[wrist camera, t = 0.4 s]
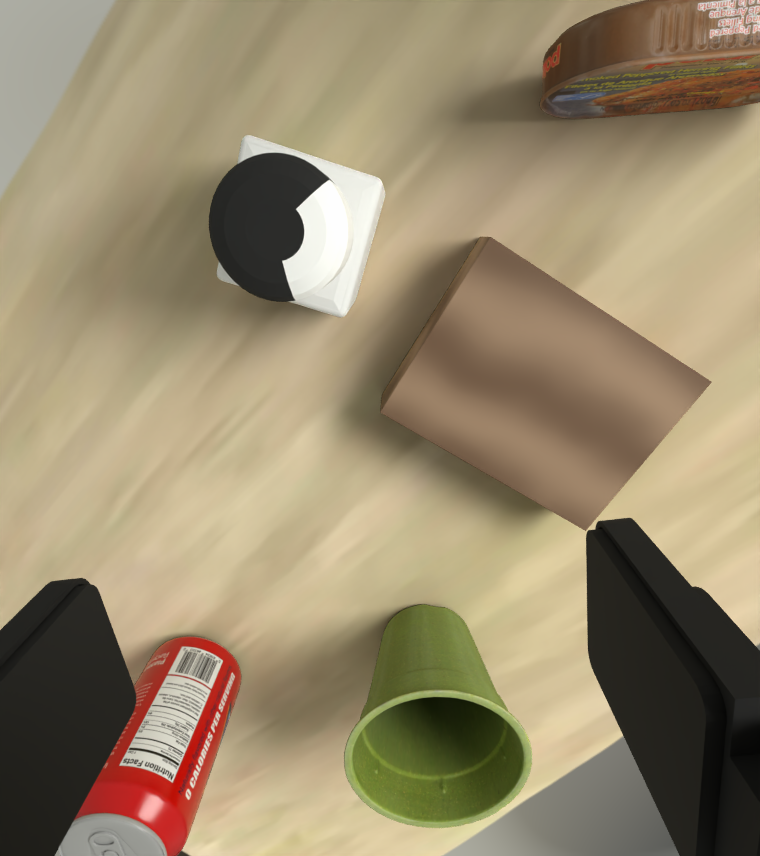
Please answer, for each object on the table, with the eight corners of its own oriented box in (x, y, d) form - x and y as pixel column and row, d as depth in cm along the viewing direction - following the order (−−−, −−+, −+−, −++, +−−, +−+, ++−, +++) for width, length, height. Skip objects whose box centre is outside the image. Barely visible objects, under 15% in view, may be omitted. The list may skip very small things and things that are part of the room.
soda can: (231, 623, 44) (153, 805, 30) (254, 695, 47) (192, 894, 33) (142, 633, 45) (24, 816, 31) (169, 704, 47) (72, 902, 33)
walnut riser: (480, 236, 33) (490, 236, 30) (678, 366, 36) (711, 382, 32) (382, 394, 37) (380, 412, 33) (567, 502, 39) (585, 530, 36)
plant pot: (449, 712, 47) (464, 852, 36) (331, 655, 45) (310, 784, 34) (529, 619, 43) (572, 744, 32) (404, 553, 41) (406, 662, 31)
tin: (523, 123, 31) (566, 85, 23) (525, 60, 30) (571, -2, 22) (790, 103, 30) (928, 57, 22) (801, 38, 29) (950, -35, 21)
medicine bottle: (249, 270, 34) (177, 288, 23) (274, 152, 32) (206, 108, 21) (355, 303, 35) (334, 336, 24) (387, 190, 33) (381, 166, 21)
